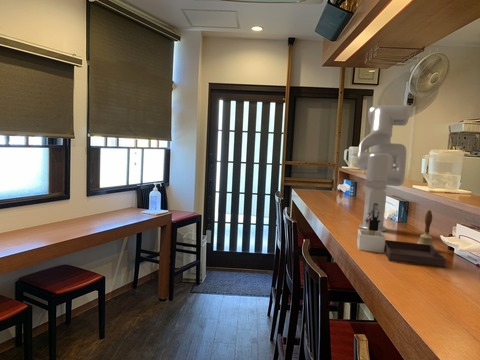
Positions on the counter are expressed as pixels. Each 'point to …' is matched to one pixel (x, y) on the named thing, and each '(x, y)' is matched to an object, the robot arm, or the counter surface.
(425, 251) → the tray
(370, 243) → the frame
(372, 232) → the ice cream cone
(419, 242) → the hand bell
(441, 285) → the counter surface
